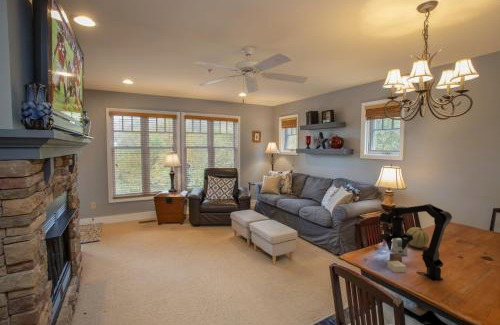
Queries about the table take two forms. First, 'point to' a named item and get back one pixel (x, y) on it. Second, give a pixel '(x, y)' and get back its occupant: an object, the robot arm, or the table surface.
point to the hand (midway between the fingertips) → (396, 249)
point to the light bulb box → (399, 246)
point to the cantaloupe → (418, 237)
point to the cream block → (396, 266)
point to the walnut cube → (395, 257)
